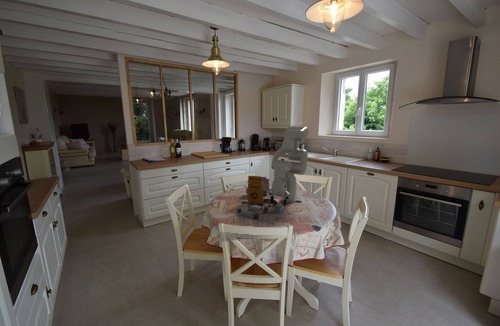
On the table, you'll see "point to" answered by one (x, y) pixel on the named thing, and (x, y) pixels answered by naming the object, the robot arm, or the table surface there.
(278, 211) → the engine block
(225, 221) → the table surface
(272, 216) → the table surface
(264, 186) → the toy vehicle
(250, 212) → the chassis
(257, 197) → the coffee package
